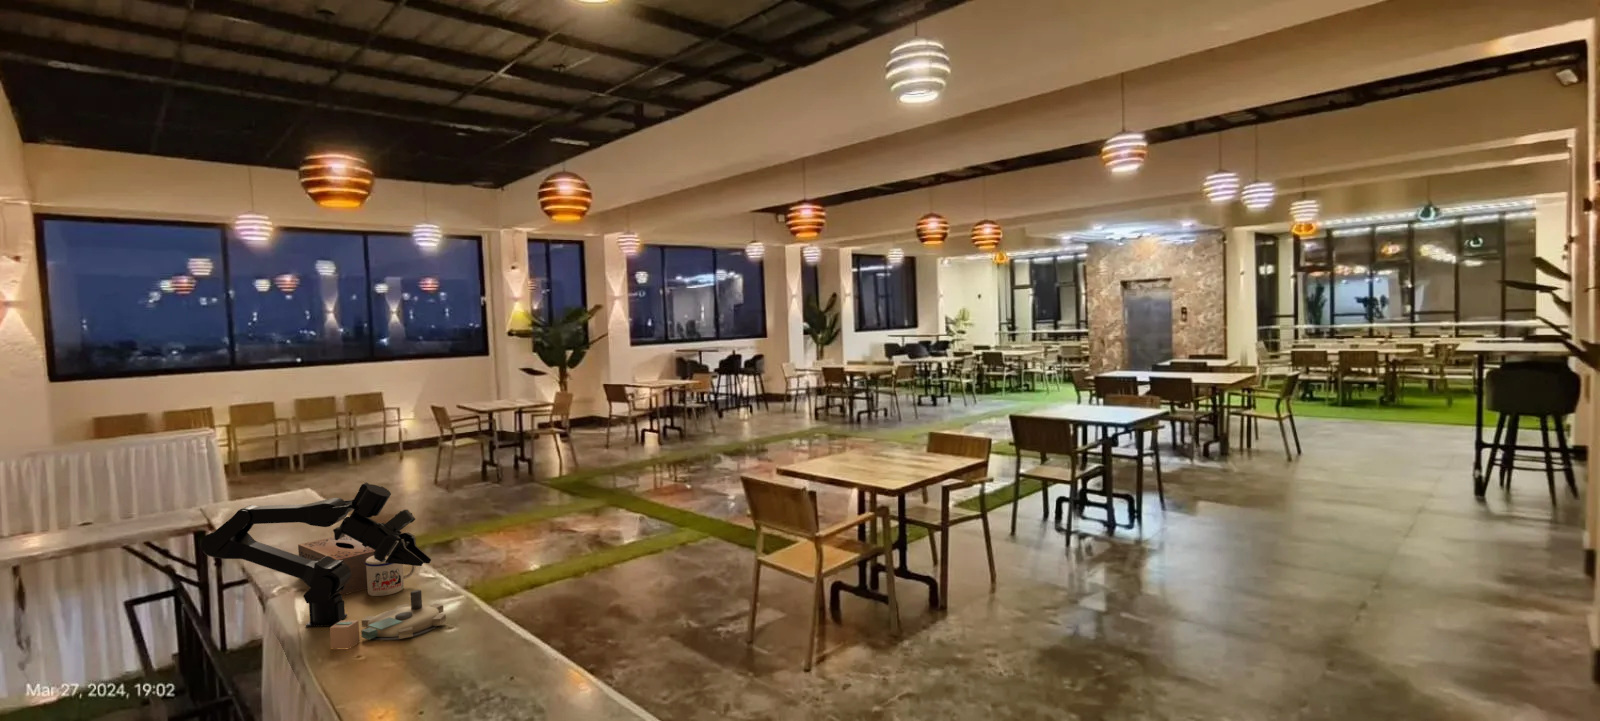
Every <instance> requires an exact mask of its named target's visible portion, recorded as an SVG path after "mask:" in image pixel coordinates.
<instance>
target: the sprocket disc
mask: <svg viewBox="0 0 1600 721" xmlns="http://www.w3.org/2000/svg"><path fill="white" fill-rule="evenodd" d="M409 594H410V604H409V603H406V604H401V605H400V604H399V605H396V606H395V608H393V609H390V610H387V611H383V612H381V613H378V614H377V615H367V616H366V617H364V618H363V619H361V628H363V629H361V638H363V639H367V640H372V638H374V637H377V636H378V637H395V636H399V639H401V640H403V639H402V638H407V637H411V638H413V637H412V636H413V633H416V632H419V631H422V630H424V629H427V628H429V627H431V626H438V627H439V626H442V625H443V624H444V623H446V621H447V615H446V613H445V614H444V605H443V604H440V603H433V604H431V605H430V604H429V605H423V599H422V598H423V596H422V595H423V594H422V590H421V589H417V590H412V591H410V592H409ZM441 613H443V614H441ZM407 639H408V638H407Z"/></svg>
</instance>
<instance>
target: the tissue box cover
mask: <svg viewBox="0 0 1600 721" xmlns="http://www.w3.org/2000/svg"><path fill="white" fill-rule="evenodd" d="M297 547H298V548H297V549H298V556H301V557H304V558H307V559H310V560H313V561H319V560H321V559H322V558H324V557H326V556H330V557H332V558H334V559H336V560H343V561H344V562H342V563H344V564H346V565H348V566H349V569H350V571H351V578H350V580H349V582H348V583H346V584H345V587H344V590H342V591H340V592H339V594H342V596H344V595H343V594H345V595H348V594H347V593H349V594H351V592H352V593H356V592H359V591H363V590H366V589H367V571H366V564H365V562H366V560H367V559H368V558H369V557H371V556H374V552H375V550H374V549H372V548H370V547H365V546H363V545H362V543H360V542H359V541H357V540H355V539H353V538H351V537H349V536H347V535H345V536H344V537H342V538H340V539H339V540H335V537H334V536H331V537H330V536H329V537H325V538H322V539H317V540H312V541H307V542H304V543H299V544H297ZM367 590H368V589H367ZM355 591H356V592H355Z"/></svg>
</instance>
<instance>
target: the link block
mask: <svg viewBox="0 0 1600 721" xmlns="http://www.w3.org/2000/svg"><path fill="white" fill-rule="evenodd" d="M359 624H360V623H359V620H358V619H353V620H352V619H350V620H349V619H348V620H345V619H344V620H341V621H339V622H337V623H336V624H334V625H333V626H329V629H330V630H329V634H330V636H329V637H330V649H331V648H350V647H352V646H353V645H354V646H356V645H357V644H358V643H360V642H359V641H361V640H360V639H361V638H360V626H359ZM356 643H357V644H356ZM355 644H356V645H355ZM354 646H353V647H354ZM353 647H352V648H353ZM350 649H351V648H350Z"/></svg>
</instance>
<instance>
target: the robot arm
mask: <svg viewBox="0 0 1600 721" xmlns="http://www.w3.org/2000/svg"><path fill="white" fill-rule="evenodd" d="M358 488H359V489H358V492H357V493H356V495H355V496H354V498H353V499H348V500H344V499H343V498H341V497H333V498H328V499H322V500H319V501H314V502H311V503H306V504H304V503H301V504H279V505H278V504H275V505H271V504H270V505H255V504H251V505H247V506H245V507H243V508H241V509H238V510H237V511H236V512H235V513H234V515H233V516H231V517H230V518H229V519H228V520H227V521H226V522H224V523H223V524H222V525H221V526H219V528H217V529H215V530H214V531H212V532H209V533H208V534H206V535H205V536H204V537H203V538H202V539H201V540H202V541H201V549H202V552H203V553H204V554H205V555H206V556H208V557H210V558H216V559H223V560H244V561H247V562H249V563H253V564H255V565H258V566H261V567H264V568H267V569H271V570H273V571H277V572H279V573H282V574H285V575H287V576H288V575H289V576H291V577H294V578H297V579H300V580H301V581H303V582H304V583H305V584H306V586H308V588H309V589H308V590H306V592H305V593H304V594H303V598H304V599H303V600H304V601H305V602H306V604H308V609H309V611H308V612H309V622H307V623H306V624H305V627H306V628H307V627H332V626H333V625H335V624H336V623H338V622H339V621H343V619H344V620H345V618H347V617H348V614H347V613H345V612H346V611H345V601H344V600H343V595H342V594H339V592H340V591H342V590H344V587H345V584H346V583H348V582H349V580H350V578H351V571H350V569H349V566H348V565H346V564H344V563H342V562H344V561H343V560H336V559H334V558H332V557H330V556H326V557H324V558H322V559H321V560H319V561H313V560H310V559H307V558H304V557H301V556H299V554H298V555H297V554H295V553H291V552H289V551H287V550H286V551H285V550H283V549H280V548H278V547H274V546H271V545H268V544H265V543H263V542H259V541H257V540H256V539H254V538H253V537H252V535H251V534H250V533H249V532H250V530H251V529H252V528H253V526H254V525H260V524H261V525H262V524H287V523H288V524H291V523H292V524H293V523H302V524H307V525H309V526H313V527H321V528H330V527H331V526H334V525H335V524H337V523H339V522H341V521H342V522H341V523H340V525H339V526H337V527H335V528H333V529H332V532H333V533H334V534H333V537H335V540H339V539H340V538H342V537H344V536H345V535H347V536H349V537H351V538H353V539H355V540H357V541H359V542H360V543H362V545H363V546H365V547H370V548H372V549H374V550H375V552H374V558H375V559H377V560H379V561H380V562H385V563H395V564H403V565H406V566H407V565H408V566H412V565H414V566H417V567H423V564H430V563H431V562H432V558H430V556H428V555H427V554H426V553H425V552H424V551H422V549H420V547H419V546H417V541H416V540H417V538H416V536H415V535H414V534H412V533H410V532H408V531H407V532H402V531H401V530H403V529H404V528H406V526H408V525H409V524H412V523H413V522H414V521H416V518H415V516H414V515H413V512H410V510H409V509H403V510H400V511H398V513H397V514H394V516H393V517H392V518H391V519H389V520H388V521H387V522H386V523H385V522H379V521H378V522H377V521H376V520H374V519H372V518H373V517H377V516H379V515H380V513H381V512H382V510H383V509H384V507H385V505H386V504H387V502H388V500H389V498H390V497H391V495H392V493H391V491H390V490H389V489H388V488H386V487H384V486H380V485H376V484H370V483H368V482H364V483H362V484H361V485H360V487H358ZM351 512H352V513H351ZM349 513H351V514H350V515H349V516H348V514H349ZM386 556H389V557H388V558H387V560H386V559H385V557H386ZM385 560H386V561H385Z"/></svg>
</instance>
